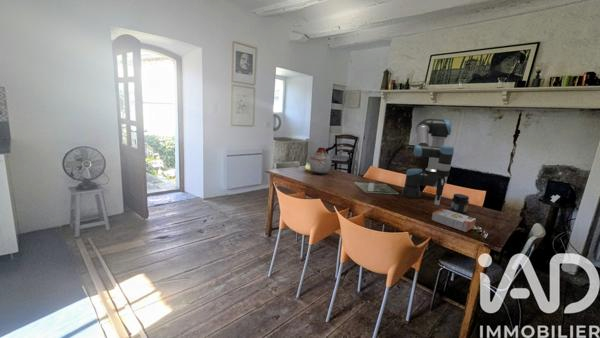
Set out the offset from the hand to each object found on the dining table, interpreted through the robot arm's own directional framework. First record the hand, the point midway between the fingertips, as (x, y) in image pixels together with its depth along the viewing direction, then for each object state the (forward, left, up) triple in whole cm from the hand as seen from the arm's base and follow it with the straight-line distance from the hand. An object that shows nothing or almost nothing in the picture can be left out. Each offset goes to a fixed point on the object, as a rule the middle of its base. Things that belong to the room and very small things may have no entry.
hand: (436, 204), depth 175 cm
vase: (-75, -104, -10) cm, 129 cm away
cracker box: (+2, 0, -6) cm, 6 cm away
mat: (0, +13, -9) cm, 16 cm away
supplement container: (-23, +18, -10) cm, 31 cm away
